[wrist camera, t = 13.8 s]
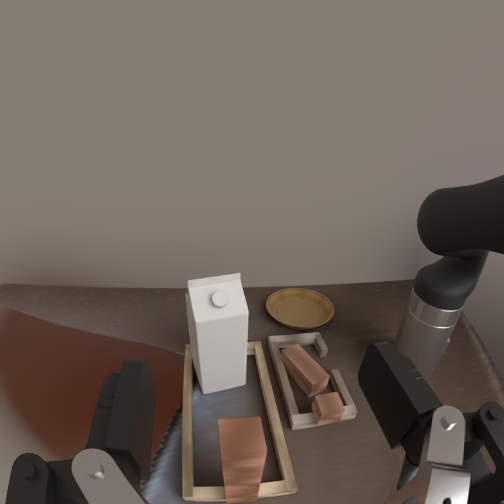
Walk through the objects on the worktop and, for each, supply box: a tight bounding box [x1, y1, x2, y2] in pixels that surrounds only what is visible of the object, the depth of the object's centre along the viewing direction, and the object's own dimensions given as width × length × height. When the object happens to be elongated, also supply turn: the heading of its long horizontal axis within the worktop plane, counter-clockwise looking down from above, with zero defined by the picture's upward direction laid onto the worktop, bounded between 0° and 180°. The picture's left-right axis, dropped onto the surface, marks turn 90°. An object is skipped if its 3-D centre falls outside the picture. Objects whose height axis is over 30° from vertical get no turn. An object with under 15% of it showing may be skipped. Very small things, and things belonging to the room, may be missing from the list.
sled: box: [182, 342, 297, 503], centre depth 35 cm, size 13×30×17 cm, turn 8°
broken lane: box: [268, 332, 358, 430], centre depth 45 cm, size 10×21×5 cm, turn 8°
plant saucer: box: [266, 288, 334, 330], centre depth 63 cm, size 15×15×3 cm
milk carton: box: [185, 273, 249, 394], centre depth 42 cm, size 7×7×19 cm
